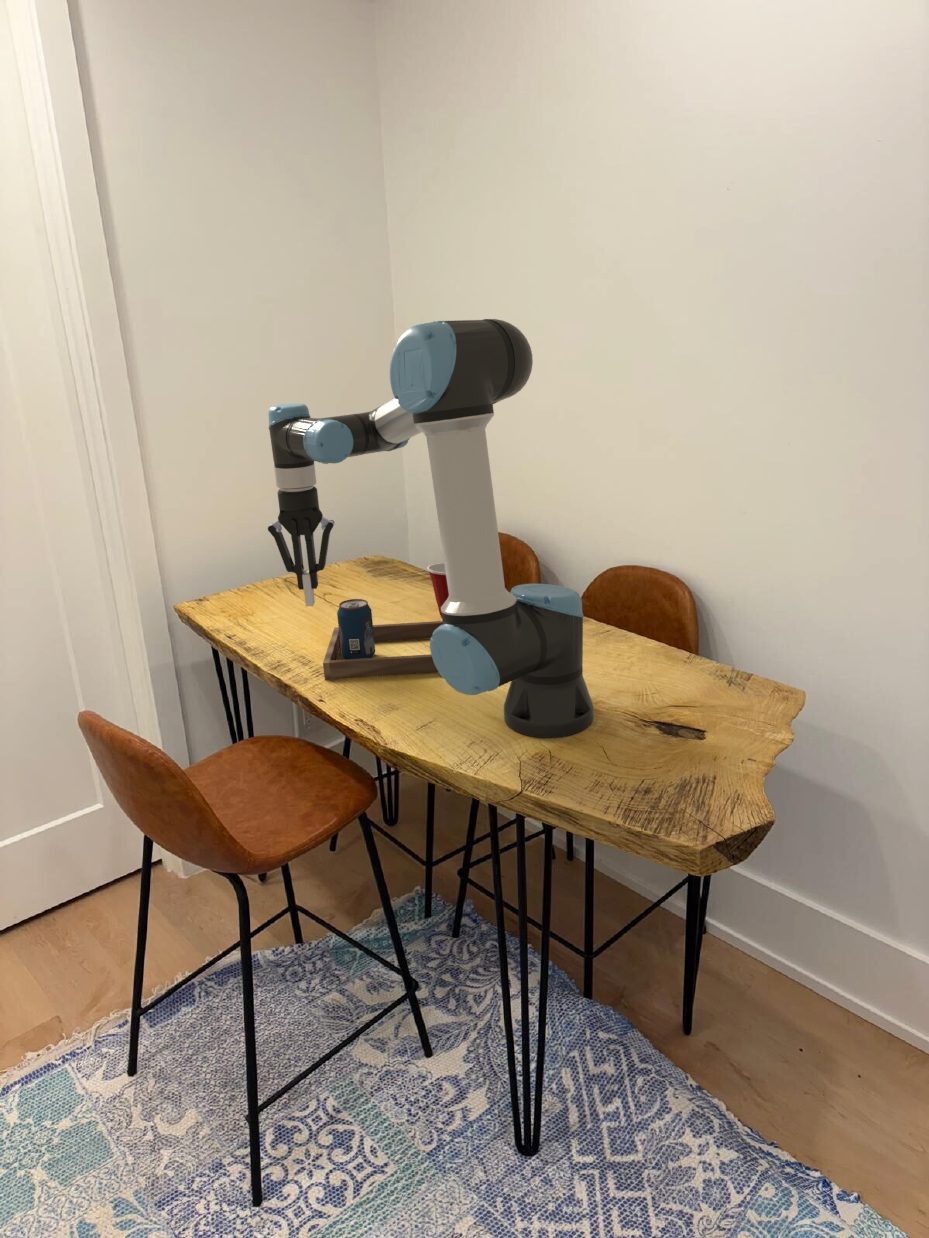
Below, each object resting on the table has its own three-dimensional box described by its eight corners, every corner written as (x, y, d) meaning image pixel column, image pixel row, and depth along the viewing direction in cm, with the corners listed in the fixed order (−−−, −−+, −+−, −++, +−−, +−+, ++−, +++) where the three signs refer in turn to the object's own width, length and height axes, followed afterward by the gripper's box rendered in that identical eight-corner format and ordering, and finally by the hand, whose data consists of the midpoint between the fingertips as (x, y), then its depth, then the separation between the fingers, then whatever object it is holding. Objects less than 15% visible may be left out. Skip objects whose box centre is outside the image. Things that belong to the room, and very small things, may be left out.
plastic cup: (486, 614, 194) (484, 564, 190) (451, 627, 187) (448, 575, 183) (455, 604, 201) (452, 556, 197) (420, 616, 194) (417, 567, 190)
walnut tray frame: (451, 672, 163) (450, 655, 162) (324, 679, 163) (322, 663, 161) (449, 635, 182) (448, 620, 181) (336, 642, 181) (334, 627, 180)
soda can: (345, 652, 176) (339, 598, 171) (378, 651, 175) (373, 597, 171) (339, 665, 169) (333, 609, 165) (373, 664, 169) (368, 608, 165)
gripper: (333, 482, 163) (344, 596, 172) (266, 485, 163) (281, 599, 171) (328, 489, 156) (340, 608, 165) (258, 493, 156) (274, 612, 164)
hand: (310, 603), depth 168 cm, fingers closed
